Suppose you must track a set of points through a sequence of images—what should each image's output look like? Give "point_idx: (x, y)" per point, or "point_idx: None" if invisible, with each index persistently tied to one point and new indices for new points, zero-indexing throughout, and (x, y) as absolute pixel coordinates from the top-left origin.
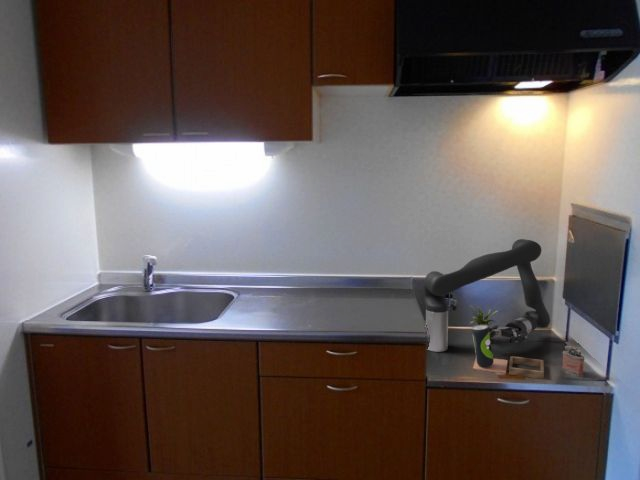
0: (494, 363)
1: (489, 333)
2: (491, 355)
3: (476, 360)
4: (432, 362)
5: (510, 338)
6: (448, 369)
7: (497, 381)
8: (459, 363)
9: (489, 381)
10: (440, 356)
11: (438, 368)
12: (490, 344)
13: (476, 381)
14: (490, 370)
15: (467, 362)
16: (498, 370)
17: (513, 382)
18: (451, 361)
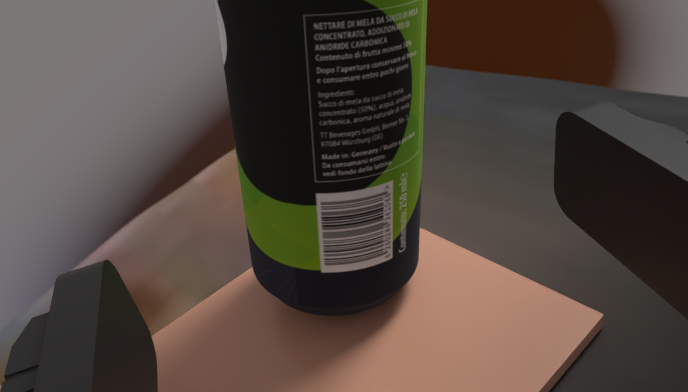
0: (338, 379)
1: (576, 110)
2: (243, 196)
3: (484, 270)
4: (561, 82)
5: (56, 285)
6: (425, 115)
7: (110, 253)
8: (496, 176)
9: (150, 217)
10: (673, 124)
11: (460, 88)
12: (230, 79)
13: (206, 169)
14: (243, 274)
15: (497, 222)
16: (193, 323)
17: (2, 331)
18: (551, 150)
